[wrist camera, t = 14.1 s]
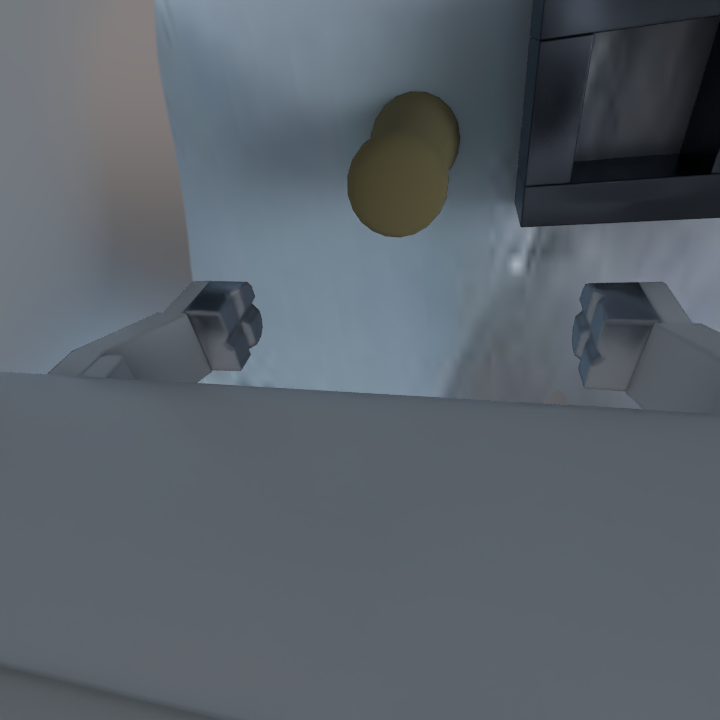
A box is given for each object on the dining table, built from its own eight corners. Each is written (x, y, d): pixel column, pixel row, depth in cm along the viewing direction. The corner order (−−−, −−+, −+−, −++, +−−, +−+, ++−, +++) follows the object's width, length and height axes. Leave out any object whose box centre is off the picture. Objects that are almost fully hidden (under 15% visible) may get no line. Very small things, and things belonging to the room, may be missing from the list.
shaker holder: (534, -22, 23) (546, -27, 20) (804, -68, 20) (873, -84, 17) (514, 203, 30) (520, 227, 27) (711, 191, 28) (745, 217, 24)
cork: (376, 192, 32) (344, 258, 23) (364, 98, 28) (320, 136, 20) (460, 184, 30) (457, 250, 22) (459, 84, 27) (455, 117, 18)
